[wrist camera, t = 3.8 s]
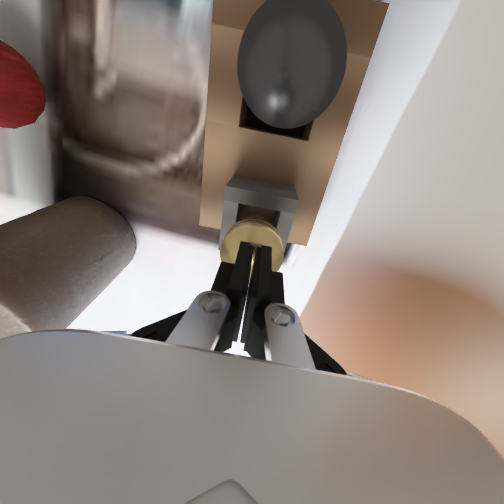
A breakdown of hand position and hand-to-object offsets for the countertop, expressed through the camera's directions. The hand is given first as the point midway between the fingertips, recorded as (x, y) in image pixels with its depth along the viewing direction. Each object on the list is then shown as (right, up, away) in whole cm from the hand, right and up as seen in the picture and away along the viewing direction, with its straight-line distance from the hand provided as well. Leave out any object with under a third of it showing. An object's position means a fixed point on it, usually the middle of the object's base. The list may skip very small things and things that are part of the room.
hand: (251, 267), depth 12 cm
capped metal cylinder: (+2, +14, +6) cm, 15 cm away
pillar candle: (-18, +3, +15) cm, 24 cm away
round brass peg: (0, +3, +4) cm, 5 cm away
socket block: (+2, +11, +8) cm, 14 cm away
